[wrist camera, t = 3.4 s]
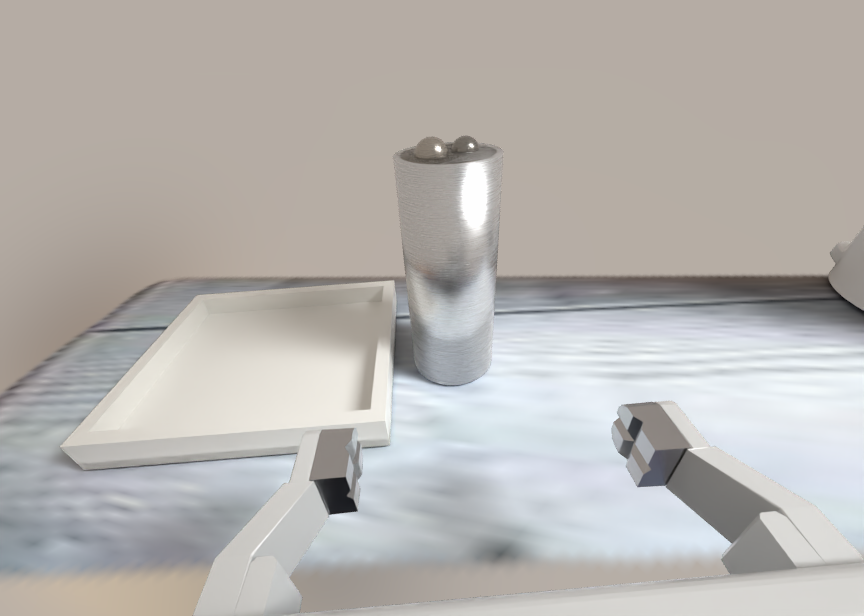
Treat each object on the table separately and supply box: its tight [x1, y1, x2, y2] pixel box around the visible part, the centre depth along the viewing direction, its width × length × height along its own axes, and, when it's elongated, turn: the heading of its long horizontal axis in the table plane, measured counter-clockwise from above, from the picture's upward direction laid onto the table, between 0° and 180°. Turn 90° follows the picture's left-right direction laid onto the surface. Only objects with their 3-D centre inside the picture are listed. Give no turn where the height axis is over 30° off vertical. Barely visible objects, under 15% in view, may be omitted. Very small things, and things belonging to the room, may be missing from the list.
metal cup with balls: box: [393, 136, 503, 385], centre depth 21 cm, size 5×5×14 cm
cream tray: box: [60, 280, 397, 470], centre depth 24 cm, size 16×14×2 cm
